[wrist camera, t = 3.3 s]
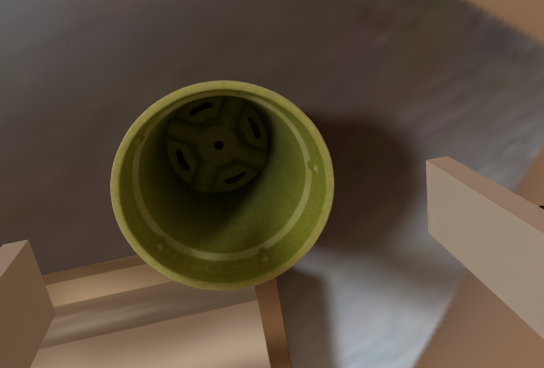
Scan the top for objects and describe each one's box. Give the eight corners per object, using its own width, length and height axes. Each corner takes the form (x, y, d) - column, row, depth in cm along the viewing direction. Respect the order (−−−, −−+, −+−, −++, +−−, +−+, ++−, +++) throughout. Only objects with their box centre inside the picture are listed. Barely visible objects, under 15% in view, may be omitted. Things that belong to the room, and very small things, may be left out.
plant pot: (184, 242, 30) (181, 324, 22) (102, 108, 26) (63, 147, 18) (317, 175, 30) (364, 233, 22) (252, 33, 26) (280, 39, 18)
